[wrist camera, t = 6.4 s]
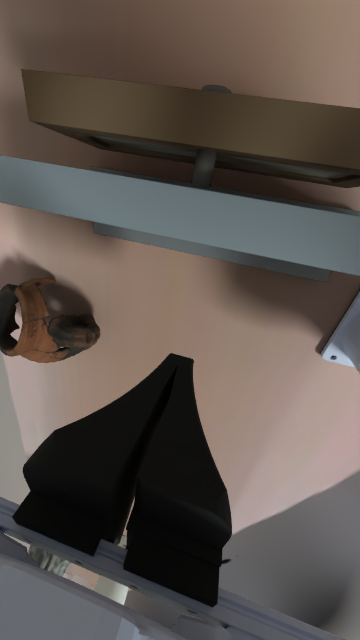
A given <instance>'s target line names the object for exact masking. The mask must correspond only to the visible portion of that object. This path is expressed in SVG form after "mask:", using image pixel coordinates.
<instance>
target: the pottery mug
mask: <svg viewBox="0 0 360 640" xmlns="http://www.w3.org/2000/svg"><path fill="white" fill-rule="evenodd" d="M55 281H56V280H55V279H53V278H36V279H32V280H30V281H27V282H24V283H22V284H21V285H19V286H17V285H11V284H7V285H6V286H4V287H3V288H2V289H1V290H0V350H1V352H3V353H4V354H5V355H8V356H11V357H13V356H17V355H21V356H22V357H24V358H27V359H28V360H31V361H35V362H38V363H49V362H56V361H61V360H64V359H66V358H69V357H71V356H74V355H76V354H78V353H80V352H81V351H83V350H86V349H88V348H90V347H91V346H92V345H94V344H95V343H96V342H97V340H98V339H99V337H100V328H99V326H98V325H97V324H96V322H95V320H94V318H93V316H92V315H91V314H84V315H79V316H76V315H61V316H59V317H56V318H54V319H52V320H51V321H50V323H49V326H47V324H46V322H45V320H44V319H45V318H47V317H49V316H50V313H49V311H48V309H47V306H46V302H45V300H44V299H43V297H42V295H41V292H40V289H39V288H38V286H39V285H41V284H45V283H54V282H55ZM18 301H19V302H20V306H21V311H22V322H23V324H22V329H21V334H20V337H19V340H18V341H17V340H16V339H14V338H13V337H12V336H11V335H10V334H11V333H12V332H13V331H14V330H16V329H19V328H20V327H19V325H17V323H16V322H15V312H16V306H15V304H16V303H18ZM60 347H64V348H60Z"/></svg>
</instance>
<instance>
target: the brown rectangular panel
mask: <svg viewBox="0 0 360 640" xmlns="http://www.w3.org/2000/svg"><path fill="white" fill-rule="evenodd" d="M21 71H22V77H23V84H24V90H25V96H26V103H27V109H28V116H29V121H31V122H34V123H36V124H39V125H41V126H44V127H46V128H49V129H51V130H54V131H56V132H59V133H62V134H64V135H67V136H69V137H72V138H74V139H77V140H79V141H82V142H84V143H87V144H89V145H92V146H94V147H97V148H99V149H103V150H110V151H116V152H122V153H129V154H135V155H141V156H147V157H154V158H160V159H166V160H173V161H179V162H185V163H192V164H195V165H194V172H193V178H192V184H193V185H198V186H203V187H210V186H211V181H212V176H213V171H214V167H217V168H223V169H230V170H236V171H242V172H249V173H255V174H261V175H268V176H274V177H280V178H287V179H293V180H299V181H306V182H312V183H318V184H325V185H331V186H337V187H344V188H351V187H358V186H360V109H359V108H351V107H342V106H334V105H325V104H316V103H308V102H299V101H291V100H282V99H274V98H265V97H256V96H248V95H239V94H232V93H231V91H230V90H229V89H227V88H225V87H222V86H219V85H207V86H204V87H203V88H202V90H196V89H188V88H179V87H170V86H162V85H153V84H145V83H136V82H127V81H119V80H110V79H102V78H93V77H84V76H76V75H67V74H59V73H50V72H41V71H33V70H24V69H21Z"/></svg>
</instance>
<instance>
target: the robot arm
mask: <svg viewBox="0 0 360 640" xmlns="http://www.w3.org/2000/svg"><path fill="white" fill-rule="evenodd" d="M333 355H334V357H331V356H333ZM321 357H322V358H323V359H324V360H327V361H331V362H335V363H339V364H343V365H347V366H350V367H354V368H356V369H357V370H358V371H359V373H360V291H359V293H358V295H357V296H356V298H355V299H354V301H353V303H352V304H351V306H350V307H349V309H348V311H347V312H346V314H345V315H344V317H343V319H342V320H341V322H340V323H339V325H338V327H337V328H336V330H335V331H334V333H333V335H332V336H331V338H330V339H329V341H328V343H327V344H326V346H325V347H324V349H323V351H322V352H321ZM193 363H194V361H193V359H191V358H187V357H183V356H180V355H176V354H173V353H171V354H169V355H168V356H167V357H166V359H165V360H164V361H163V362H162V363H161V364H160V365H159V366H158V367H157V368H156V369H155V370H154V371H153V372H152V373H151V374H150V375H149V376H147V377H146V378H145V379H144V380H143V381H141V382H140V383H139V384H138V385H137V386H135V387H134V388H133V389H131V390H130V391H129V392H127V393H126V394H124V395H123V396H121V397H120V398H118V399H117V400H115V401H113V402H112V403H110V404H108V405H107V406H105V407H103V408H101V409H99V410H98V411H96V412H94V413H92V414H90V415H88V416H86V417H84V418H82V419H80V420H78V421H75V422H73V423H71V424H68V425H66V426H64V427H62V428H59V429H57V430H55V431H54V432H53V433H52V434H51V435H50V436H49V437H48V438H47V439H46V440H45V441H44V442H43V443H42V444H41V445H40V446H39V447H38V449H37V450H36V451H35V452H34V453H33V455H32V456H31V457H30V458H29V460H28V461H27V462H26V463H25V464H24V467H23V474H24V477H25V479H26V482H27V484H28V486H29V488H30V490H31V491H30V492H29V494H28V495H27V497H26V498H25V499H24V501H23V502H22V503H21V505H18V504H16V503H14V502H11V501H8V500H6V499H4V498H1V497H0V640H345V639H343V638H340V637H338V636H335V635H333V634H331V633H328V632H326V631H323V630H321V629H318V628H316V627H314V626H311V625H309V624H306V623H304V622H302V621H299V620H297V619H294V618H292V617H289V616H287V615H285V614H282V613H280V612H277V611H275V610H273V609H270V608H268V607H265V606H263V605H260V604H258V603H255V602H253V601H251V600H248V599H246V598H243V597H241V596H238V595H236V594H234V593H231V592H229V591H227V590H224V589H221V588H219V587H218V583H219V567H220V566H221V563H222V548H223V547H224V545H225V544H226V543H227V542H228V541H229V539H230V538H231V535H232V522H231V511H230V505H229V499H228V494H227V489H226V487H225V485H224V483H223V481H222V479H221V476H220V474H219V472H218V470H217V467H216V465H215V462H214V460H213V457H212V455H211V452H210V449H209V447H208V444H207V441H206V438H205V435H204V432H203V429H202V425H201V422H200V418H199V414H198V410H197V405H196V399H195V393H194V385H193ZM134 497H135V502H134V506H133V509H132V512H131V515H130V518H129V521H128V523H127V527H126V530H127V542H126V548H122V547H120V546H118V544H119V543H120V541H121V538H122V535H123V531H124V528H125V525H126V522H127V519H128V516H129V512H130V509H131V506H132V503H133V500H134ZM4 533H5V534H8V535H10V536H12V537H14V538H17V539H19V540H21V541H23V542H26V543H28V544H30V545H33V546H35V547H37V548H39V549H42V550H44V551H46V552H49V553H51V554H53V555H55V556H58V557H60V558H62V559H65V560H67V561H69V562H71V563H74V564H76V565H78V566H81V567H83V568H85V569H87V570H90V571H92V572H94V573H97V574H99V575H101V576H103V577H106V578H108V579H110V580H113V581H115V582H117V583H119V584H122V585H124V586H126V587H129V588H131V589H133V590H135V591H138V592H140V593H142V594H145V595H147V596H149V597H151V598H154V599H156V600H158V601H161V602H163V603H165V604H167V605H170V606H172V607H174V608H177V609H179V610H181V611H184V612H186V613H188V614H190V615H193V616H195V617H197V618H200V619H202V620H199V619H196V618H192V617H189V616H185V615H180V616H179V617H178V622H177V624H173V625H172V627H171V630H170V629H168V628H166V627H164V626H162V625H160V624H159V623H157V622H155V621H153V620H151V619H149V618H147V617H145V616H143V615H141V614H140V613H138V612H136V611H134V610H131V609H130V608H128V607H126V606H124V605H122V604H120V603H118V602H116V601H114V600H112V599H110V598H108V597H105V596H103V595H101V594H99V593H97V592H95V591H93V590H91V589H88V588H86V587H84V586H82V585H79V584H77V583H75V582H73V581H71V580H68V579H66V578H64V577H61V576H59V575H56V574H54V573H52V572H49V571H47V570H44V569H42V568H39V564H38V563H37V562H36V561H35V560H33V559H32V558H31V556H30V555H29V554H28V552H27V548H26V547H25V546H23V545H22V544H20V543H18V542H17V541H15V540H13V539H11V538H10V537H8V536H6V535H5V534H4ZM203 620H204V621H203Z"/></svg>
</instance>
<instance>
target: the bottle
mask: <svg viewBox="0 0 360 640" xmlns="http://www.w3.org/2000/svg"><path fill="white" fill-rule="evenodd" d="M126 542H127V537H126V536H123V535H122V538H121V541H120V543H119V544H118V546H120V547H122V548H126ZM128 588H129V587H126V586H124V585H122V584H119V583H117V582H115V581H113V580H110V579H108V578H106V577H103V576H101V575H100V576H99V579H98V582H97V585H96V587H95V590H94V591H95V592H97V593H99V594H101V595H103V596H105V597H108V598H110V599H112V600H114V601H116V602H118V603H120V604H122V605H124V602H125V598H126V595H127V591H128Z"/></svg>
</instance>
